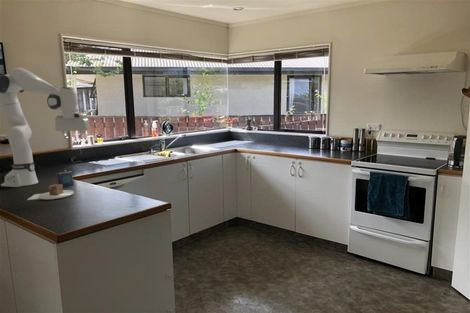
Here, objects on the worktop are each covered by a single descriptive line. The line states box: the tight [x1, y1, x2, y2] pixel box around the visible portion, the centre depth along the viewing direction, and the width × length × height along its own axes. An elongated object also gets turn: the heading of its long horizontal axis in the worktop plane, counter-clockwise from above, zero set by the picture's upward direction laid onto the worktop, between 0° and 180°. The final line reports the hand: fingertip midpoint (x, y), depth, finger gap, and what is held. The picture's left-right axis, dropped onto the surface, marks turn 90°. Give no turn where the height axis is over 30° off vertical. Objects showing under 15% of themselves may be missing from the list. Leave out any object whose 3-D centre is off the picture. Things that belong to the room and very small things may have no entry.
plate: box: [39, 189, 75, 200], centre depth 205 cm, size 18×18×1 cm
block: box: [48, 183, 64, 195], centre depth 205 cm, size 5×5×5 cm
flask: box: [57, 169, 74, 188], centre depth 228 cm, size 9×3×11 cm, turn 144°
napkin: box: [26, 193, 42, 201], centre depth 205 cm, size 8×12×1 cm, turn 10°
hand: (73, 138), depth 214 cm, fingers open, 8 cm apart
